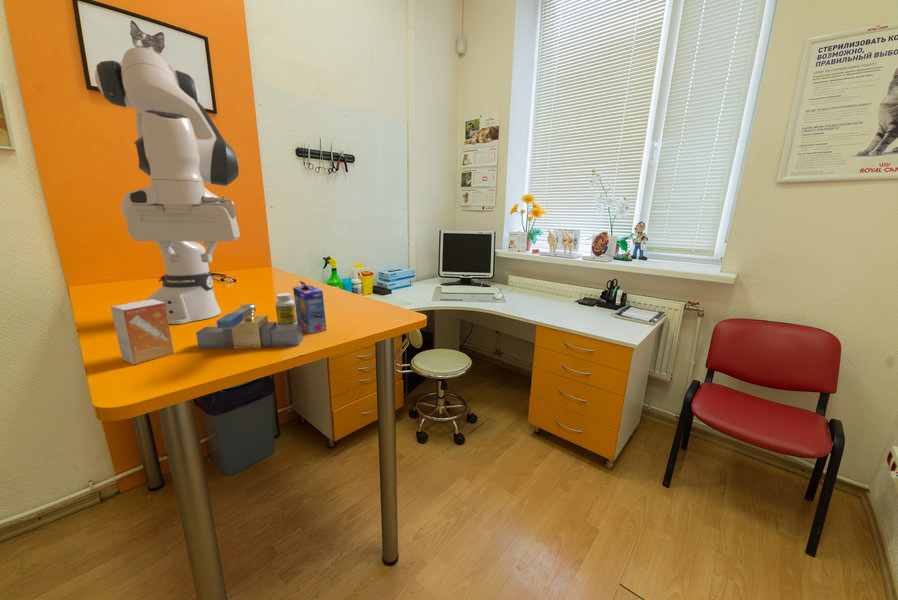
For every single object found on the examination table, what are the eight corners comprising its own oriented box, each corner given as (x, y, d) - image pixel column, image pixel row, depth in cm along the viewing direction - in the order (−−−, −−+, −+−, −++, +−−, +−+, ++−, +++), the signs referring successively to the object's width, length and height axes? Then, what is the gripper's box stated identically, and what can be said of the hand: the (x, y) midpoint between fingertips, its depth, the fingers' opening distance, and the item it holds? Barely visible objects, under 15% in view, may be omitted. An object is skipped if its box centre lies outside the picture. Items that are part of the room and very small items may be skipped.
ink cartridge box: (295, 325, 108) (291, 279, 104) (313, 322, 111) (310, 277, 108) (308, 334, 101) (304, 284, 97) (327, 330, 104) (323, 282, 101)
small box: (134, 365, 79) (122, 310, 76) (121, 359, 82) (109, 305, 79) (175, 353, 86) (165, 301, 83) (162, 348, 89) (152, 298, 86)
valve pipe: (196, 350, 88) (190, 317, 86) (209, 341, 94) (204, 310, 92) (297, 347, 91) (294, 315, 89) (303, 338, 97) (301, 308, 95)
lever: (244, 310, 92) (243, 303, 91) (257, 309, 92) (256, 303, 92) (217, 328, 78) (215, 320, 77) (232, 328, 78) (231, 320, 78)
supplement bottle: (294, 320, 112) (292, 291, 110) (298, 325, 108) (295, 295, 106) (276, 323, 109) (273, 293, 107) (279, 328, 105) (275, 297, 103)
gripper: (240, 197, 78) (248, 259, 81) (137, 195, 75) (150, 260, 79) (226, 196, 72) (235, 264, 75) (114, 194, 69) (129, 264, 73)
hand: (191, 262), depth 77 cm, fingers open, 5 cm apart
